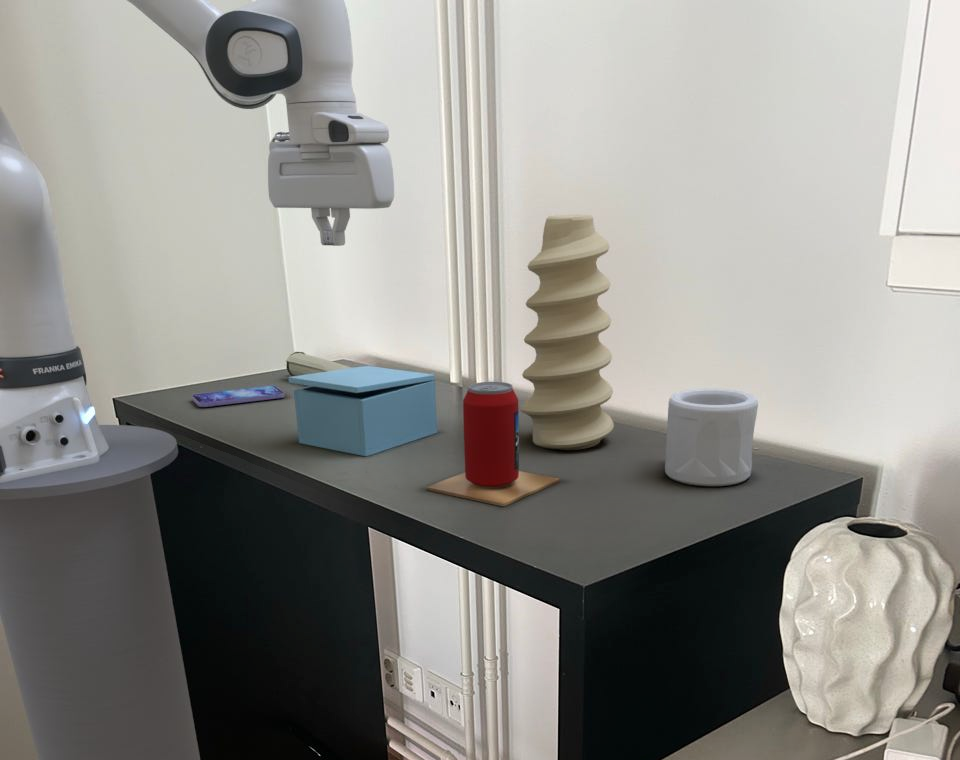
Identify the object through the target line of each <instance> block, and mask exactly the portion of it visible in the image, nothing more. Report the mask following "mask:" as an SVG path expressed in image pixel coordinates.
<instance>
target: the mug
mask: <svg viewBox="0 0 960 760" xmlns="http://www.w3.org/2000/svg"><path fill="white" fill-rule="evenodd" d="M758 406H759V402H758V399H757V397H755V395H753V394H750V393H748V392H746V391H745V392H744V391H741V390H736V389H729V388H728V389H727V388H693V389H685V390H682V391H678V392H676V393H674V394H672V395H671V396H670V397H669V399H668V407H667V425H666V451H665V462H664V473H665V474H666V475H667V476H668V477H669V478H670V479H671V480H673V481H674V482H675V481H676V482H678V483H681V484H686V485H691V486H700V487H723V486H725V487H726V486H732V485H736V484H740V483H743V482H744V481H746V480H747V479H748V478H750V476H751V474H752V468H753V442H754V433H755V427H756V421H757V415H758V408H759V407H758Z"/></svg>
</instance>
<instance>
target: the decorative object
mask: <svg viewBox="0 0 960 760" xmlns="http://www.w3.org/2000/svg"><path fill="white" fill-rule="evenodd" d="M543 226H544V227H543V233H542V242H541V243H542V245H541V249H540V252H539V253H537V255H536V256H535V257H534V258H532V259H531V260H530V261H529V262H528V264H527V266H526V267H527V269H528V271H530V272H532V273H534V274H535V275H536V276H537V277H538V279H539V287H538V289H537V291H535V292H534V293H533V294H532V295H531V296H530V297H529V298H528V299H527V300H526V302H525V306H526V308H527V309H529V310H532V311H533V312H535V313H536V316H537V323H536V326H535V327H534V328H533V329H532V330H531V331H529V332H528V333H527V334H526V335H525V336H524V339H523V341H524V343H525V344H526V345H529V346H530V347H532V348H533V349H534V351H535V357H534V358H535V359H534V361H533V362H532V363H531V364H530V365H529V366H528V367H527V368H525V369H524V370H523V372H522V374H521V376H522V378H523V379H525V380H527V381H528V382H530V383H532V385H533V388H534V389H533V394H532V396H530V398H529V399H528V400H526V401H525V402H524V403H522V405H521V406H520V411H521V413H522V414H525V415H527V416H529V417H530V418H531V422H532V443H533V444H535V446H539V447H540V448H544V449H548V450H549V449H550V450H559V451H561V450H562V451H576V450H584V449H588V448H592V447H595V446H597V445H598V444H600V442H601V440H603V439H604V438H606V437H608V436H609V435H610V434H611V433H612V431H613V429H614V427H615V424H614V421H613V419H612V418H611V416H610V415H609V414H608V413H606V412H605V411H604V410H602V407H601V405H604V404H605V403H607V402H608V401H609V400H610V399H611V398H612V396H613V393H614V390H613V387H612V385H611V384H610V382H608V381H607V380H606V379H605V378H603V377H602V376H601V374H600V372H601V371H600V370H601V369H604V368H606V367H607V366H609V365H610V364H611V361H612V360H613V355H612V352H611V350H610V349H609V348H608V347H607V346H605V344H603V343H602V342H601V341H600V338H599V335H600V334H601V333H603V332H604V331H606V330H608V329H609V328H610V326H611V323H612V318H611V316H610V315H609V314H608V313H607V312H606V311H605V310H604V309H602V307H601V306H599V302H598V298H599V297H600V296H601V295H603V294H606V292H608V291H609V289H610V287H611V282H610V279H609V278H608V277H607V275H605V274H603V273H602V272H601V271H600V269H599V268H598V265H597V261H598V259H599V258H600V257H602V256H604V255H606V254H607V253H608V251H609V249H610V247H611V246H610V244H609V242H608V240H607V239H606V238H604V237H603V235H601V234H600V233H598V232H597V231H596V227H595V223H594V217H593V216H592V215H591V214H556V215H549V216H547V217H546V219H545V222H544V225H543Z"/></svg>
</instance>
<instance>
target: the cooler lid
mask: <svg viewBox="0 0 960 760" xmlns="http://www.w3.org/2000/svg"><path fill="white" fill-rule="evenodd" d="M432 380H434V381H435V380H436V375H435V374H433V373H432V374H431V373H425V372H417V371H410V370H402V369H396V368H386V367H379V366H373V365H363V366H358V367H357V366H356V367H352V368H349V369H342V370H335V371H328V372H321V373H314V374H307V375H299V376H288V383H289V384H294V385H295V384H296V385H302V386H314V387H321V388H327V389H334V390H340V391H347V392H353V393H361V392H367V391H373V390H379V389H385V388H391V387H396V386H402V385H408V384H414V383H420V382H426V381H432Z"/></svg>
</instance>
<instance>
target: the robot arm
mask: <svg viewBox="0 0 960 760" xmlns="http://www.w3.org/2000/svg"><path fill="white" fill-rule="evenodd" d="M126 1H127V2H128V3H131V5H132V6H134V7H135V8H136V9H138V10H139V11H140V12H142V13H143V14H144V15H145V16H146V17H147V18H148V19H150V20H151V21H152V22H153V23H155V24H156V25H157V26H158V27H159V28H160V29H161V30H163V31H164V32H165V33H166V34H168V35H169V36H170V37H171V38H172V39H173V40H175V41H176V42H177V43H178V44H179V45H181V47H183V48H184V49H185V50H186V51H187V52H188V53H189V54H190V55H191V56H192V57H193V58H194V59H195V61H196V62H197V63H198V66H199V68H201V70H202V73H204V75H205V77H206V79H207V81H208V83H209V85H210V86H211V88H212V89H213V91H214V92H215V93H216V94H217V96H219V98H221V99H222V100H223V101H224V102H226V103H227V104H229V105H231V106H233V107H235V108H238V109H243V110H254V109H258V108H261V107H263V106H265V105H267V104H269V103H270V102H271V101H272V100H273V99H274V98H275V97H276V95H283V96H284V98H285V104H286V116H287V126H288V127H287V128H288V131H286V132H284V131H278V132H276V133H275V134H274V136H273V137H272V139H271V141H270V142H269V144H268V148H269V149H268V151H269V153H268V158H267V186H268V187H267V189H268V191H267V192H268V199H269V201H270V203H271V204H272V206H273V207H274V208H277V209H278V208H279V209H280V208H281V209H310V211H311V218H312V220H313V222H314V224H315V226H316V228H317V230H318V232H319V237H320V244H321V245H322V246H334V247H341V246H345V245H346V234H345V233H346V232H345V231H346V230H347V227H348V224H349V221H350V218H351V211H350V210H351V209H363V210H364V209H366V210H370V209H371V210H373V209H375V210H376V209H377V210H378V209H387V208H390V207H391V205H392V203H393V201H394V198H395V180H394V179H395V178H394V168H393V160H392V156H391V153H390V151H389V149H388V147H387V146H386V145H384V144H387V143H388V142H389V138H390V132H389V131H390V130H389V127H388V125H387V124H385V123H383V122H381V121H379V120H377V119H374V118H372V117H369V116H367V115H364V114H363V113H361V112H358V110H357V100H356V99H357V98H356V95H355V92H354V88H353V83H352V75H353V69H354V55H353V54H354V53H353V43H352V33H351V26H350V20H349V19H350V18H349V14H348V9H347V6H346V3H345V0H254V1H252V2H250V3H248V4H245V5H243V6H240V7H237V8H235V9H232V10H229V11H226V12H223V11H222V10H219V8H217V7H215V5H213V4H212V3H211V2H210V1H209V0H126ZM328 217H330V218H332V219H333V218H334V219H333V224H332V225H331V222H330V220H329V218H328ZM58 244H59V243H58V238H57V233H56V226H55V222H54V215H53V211H52V205H51V199H50V194H49V189H48V187H47V182H46V180H45V178H44V176H43V175H42V173H41V171H40V170H39V168H38V167H37V165H35V164H34V162H33V161H32V160H31V159H30V158H29V156H28V154H27V153H26V150H25V149H24V147H23V145H22V143H21V141H20V139H19V137H18V136H17V134H16V132H15V130H14V129H13V127H12V125H11V122H10V121H9V118H8V116H6V113H5V111H4V110H3V108H2V106H1V105H0V483H3V482H8V481H13V480H18V479H23V478H27V477H32V476H37V475H42V474H47V473H52V472H56V471H61V470H66V469H71V468H76V467H81V466H85V465H90V464H95V463H97V462H99V461H100V456H101V455H102V454H104V453H105V452H107V451H108V449H109V445H108V443H107V442H106V440H105V438H104V436H103V434H102V432H101V429H100V427H99V425H100V424H99V422H98V420H97V418H96V417H97V416H96V411H95V407H94V406H93V405H92V403H91V400H90V399H91V398H90V396H89V393H88V389H87V373H86V368H85V364H84V359H83V354H82V350H81V348H80V347H79V346H78V345H77V342H76V336H75V332H74V331H75V330H74V326H73V320H72V316H71V311H70V306H69V301H68V295H67V290H66V285H65V280H64V273H63V268H62V260H61V255H60V249H59V245H58Z"/></svg>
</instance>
